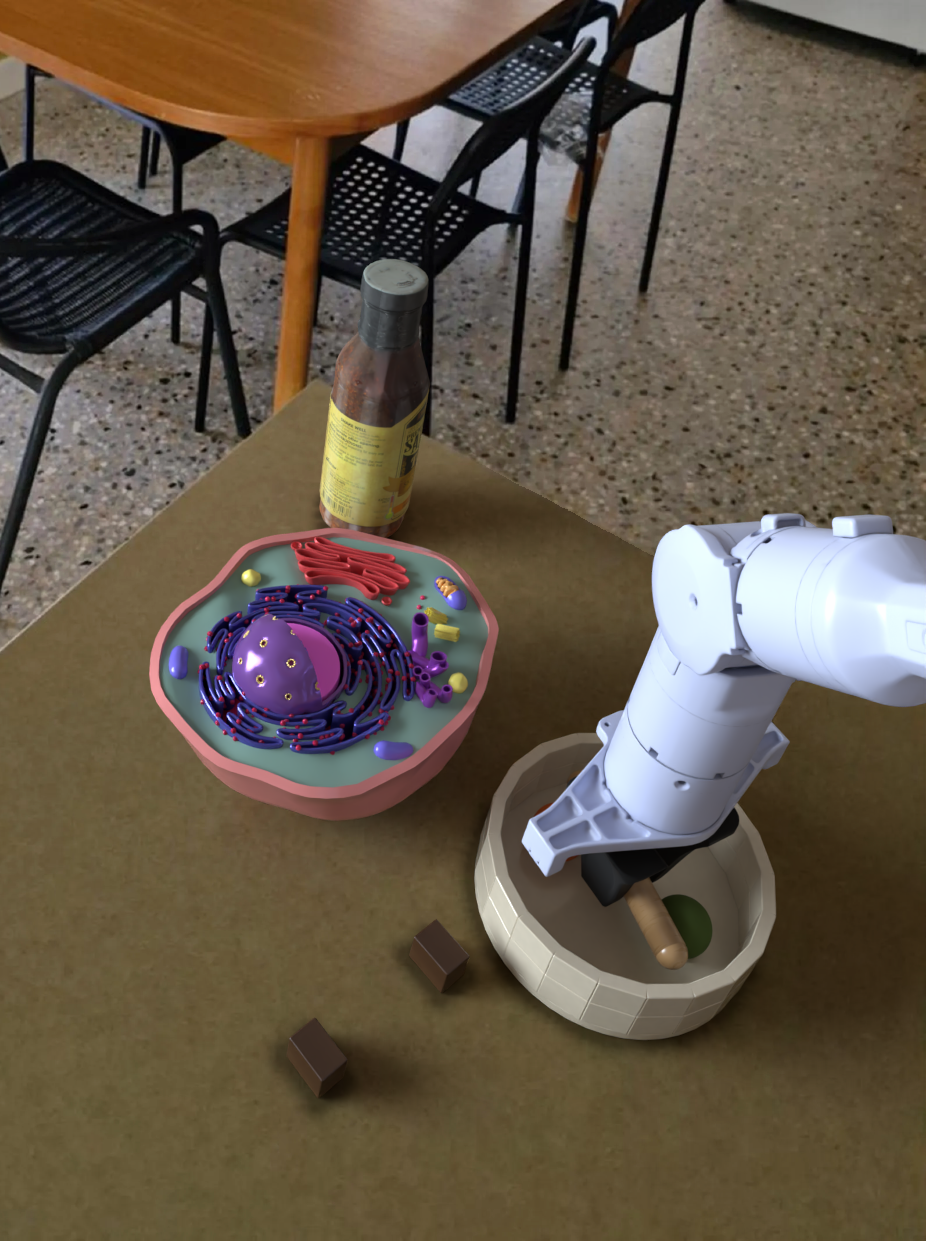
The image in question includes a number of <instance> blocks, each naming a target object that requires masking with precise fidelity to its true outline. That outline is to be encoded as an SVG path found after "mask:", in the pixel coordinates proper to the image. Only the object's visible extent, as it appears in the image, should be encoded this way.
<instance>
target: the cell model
mask: <svg viewBox="0 0 926 1241" xmlns="http://www.w3.org/2000/svg"><path fill="white" fill-rule="evenodd" d="M499 631H500V627H499V624H498V621H497V617H496V616H495V614H494V612H493V611H492V609H491V607H490V606H489V603H488V602H487V601H486V599H485V598H484V596H483V595H482V593H481V591H480V590H479V588H478V587H477V585H476V584H475V583H474V581H473V579H472V578H471V576H470V574H468V572H466V570H464V569H463V568H462V567H461V566H460V565H459V564H458V563H457V562H456V561H454V560H453V559H451V558H449V557H448V556H446V555H445V554H442V553H441V552H437V551H434V550H431V549H429V548H426V547H423V546H419V545H415V544H411V543H407V542H403V541H400V540H395V539H391V538H388V537H387V538H383V537H379V536H375V535H371V534H367V533H363V532H359V531H355V530H350V529H342V528H330V527H324V528H318V529H311V530H305V531H297V532H288V533H279V534H273V535H269V536H264V537H261V538H258V539H255V540H251V541H249V542H247V543H245V544H244V545H243V546H241V547H240V548H239V549H238V550H236V552H235V553H234V554H233V555H232V556H231V557H230V559H229V560H228V561H227V563H226V564H224V566H223V567H222V568H221V570H219V572H218V573H217V574H216V575H215V577H214V578H213V579H212V580H211V581H210V582H209V583H208V584H206V586H204V587H203V588H201V589H199V591H197V592H196V593H194V594H192V595H191V596H190V597H189V598H187V599H185V600H184V601H183V602H181V603H180V604H179V605H178V606H177V607H176V608H175V609H174V610H173V611H172V612H171V613H170V614H169V616H168V617H167V619H166V620H165V621H164V622H163V624H162V625H161V626H160V629H159V630H158V632H157V633H156V636H155V638H154V642H153V644H152V649H151V652H150V658H149V670H148V671H149V672H148V675H149V683H150V690H151V693H152V695H153V697H154V699H155V702H156V704H157V705H158V706H159V708H160V710H161V711H162V713H163V714H164V715H165V716H166V718H167V719H168V720H169V721H170V723H172V724H173V726H174V727H175V728H176V729H177V731H179V733H180V734H181V735H182V737H183V738H184V740H185V742H186V743H187V744H188V745H189V747H190V748H191V749H192V751H193V752H194V754H195V755H196V757H197V758H198V759H199V761H200V762H201V763H202V764H203V765H204V766H205V767H206V769H207V770H208V771H209V772H210V773H211V774H212V775H213V776H214V777H215V778H217V780H219V781H220V782H221V783H223V784H224V785H225V786H226V787H228V788H229V789H231V790H232V791H234V792H236V793H238V794H240V795H242V796H244V797H246V798H248V799H251V800H254V801H257V802H259V803H263V804H265V805H268V806H272V807H276V808H279V809H283V810H287V811H290V812H293V813H297V814H300V815H302V816H306V817H309V818H312V819H317V820H322V821H330V822H341V821H342V822H344V821H353V820H361V819H366V818H370V817H374V816H376V815H379V814H380V813H383V812H385V811H387V810H389V809H392V808H394V807H395V806H397V805H398V804H400V803H401V802H403V801H405V799H407V798H408V797H410V796H412V795H414V794H415V793H416V792H418V791H419V790H421V789H422V788H423V787H424V786H426V785H427V784H428V783H430V782H431V781H432V780H434V778H436V777H437V776H438V774H440V772H442V770H444V768H445V767H447V765H448V764H449V763H450V761H451V760H452V758H453V757H454V755H456V753H457V752H458V750H459V749H460V748H461V746H462V744H463V743H464V741H465V738H466V736H467V735H468V733H469V731H470V729H471V726H472V724H473V721H474V718H475V716H476V713H477V711H478V708H479V706H480V703H481V700H482V699H483V696H484V693H485V691H486V689H487V686H488V681H489V678H490V673H491V670H492V669H491V668H492V664H493V660H494V653H495V650H496V646H497V641H498V635H499Z"/></svg>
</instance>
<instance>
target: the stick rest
mask: <svg viewBox="0 0 926 1241" xmlns="http://www.w3.org/2000/svg"><path fill="white" fill-rule="evenodd" d="M408 956H409V957H410V959H411V960H412V961H413V962H414V964H415V965H416V966H417V967H418V968H419V969H420V971H421V972H422V973H423V974H424V975H425V976H426V978H427V979H428V980H429V981H430V982H431V983H432V985H433V986H434V987H435V988H436V989H437V990H438V992H439V993H440V994H443V993H444V992H446V991H447V990H448V989H449V988H451V986H452V985H454V984H455V983H456V982H457V981H458V980H459V979H461V978H462V977H463V976H464V974H465V971H466V968H467V965H468V963H469V959H470V955H469V953H467V951H466V950H465V949H464V948H463V947H462V946H461V945H460V943H459V942H458V941H457V940H456V938H454V937H453V935H452V934H451V933H450V932H449V931H448V930H447V928H445V927H444V925H443V923H441V922H440V921H439V920H438V919H437V918H436V919H434V920H433V921H431V922H430V923H429V924H428V925H426V927H425V926H424V928H423V929H422V930H421V931H419V932H418V933H417V934H416V935H414V936H413V939H412V943H411V946H410V949H409V954H408ZM287 1043H288V1044H287V1049H286V1054H285V1056H286V1058H287V1059H288V1060H289V1062H290V1063H291V1065H292V1066H293V1068H295V1070H296V1071H297V1073H298V1074H299V1076H300V1077H301V1078H302V1079H303V1081H304V1082H305V1084H306V1085H307V1086H308V1087H309V1089H310V1090H311V1092H312V1093H313V1095H315V1097H316V1098H317V1099H321V1097H323V1096H324V1095H325V1094H326V1093H328V1092H329V1090H331V1089H332V1088H333V1087H334V1086H335V1085H337V1084H338V1083H339V1082H340V1081H341V1080H343V1079H344V1076H345V1072H346V1068H347V1064H348V1061H349V1060H348V1058H347V1056H346V1055H345V1054H344V1053H343V1051H342V1050H341V1048H339V1046H338V1044H336V1042H335V1041H334V1039H333V1038H332V1037H331V1036H330V1034H329V1033H328V1032H327V1030H326V1029H325V1027H323V1025H322V1024H321V1023H320V1021H319V1020H318V1019H317V1018H316V1017H313V1018H312V1019H311V1020H309V1021H308V1022H306V1023H305V1024H304V1025H303V1026H302V1027H301V1028H299V1029H298V1030H297V1031H295V1033H293V1034H291V1035H290V1037H289V1039H288V1042H287Z"/></svg>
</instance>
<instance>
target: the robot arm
mask: <svg viewBox="0 0 926 1241" xmlns="http://www.w3.org/2000/svg"><path fill="white" fill-rule="evenodd" d="M831 526H832V528H828V527H827V528H826V527H818V526H817V525H815V524H814V523H812V522H810V521H809V520H806V518H805V517H804V515H802V514H800V513H793V512H782V513H771V514H770V513H769V514H765V515H762V517H761V520H757V521H743V522H729V523H719V524H717V523H716V524H715V523H714V524H703V525H701V524H700V525H695V524H691V523H690V524H689V523H688V524H684V525H683V526H681V527H680V528H677V529H671V530H669V531H668V532H666V533H665V534H664V535H663V536H662V537H661V539H660V540H659V542H658V544H657V547H656V550H655V553H654V557H653V560H652V569H651V571H652V572H651V592H652V600H653V601H652V602H653V607H654V611H655V612H654V613H655V616H656V620H657V624H658V627H657V629H656V632H655V634H654V636H653V638H652V641H651V643H650V646H649V649H648V651H647V654H646V656H645V658H644V661H643V664H642V666H641V667H640V670H639V673H638V675H637V677H636V680H635V683H634V685H633V687H632V690H631V692H630V695H629V697H628V700H627V701H626V704H625V707H624V709H623V710H618V711H616V712H614V713H612V714H609V715H607V716H604V717H602V718H601V719H600V720H599V721H598V722H597V726H596V729H595V730H596V731H595V733H597V735H598V737H599V738H600V739H601V740H602V742H603V744H604V746H603V747H602V749H601V750H600V751H599V752H598V753H597V754H596V756H595V757H594V758H593V759H592V760H591V761H590V763H589V764H588V765H587V766H586V767H585V768H584V769H583V771H582V772H581V773H580V774H579V775H578V776H575V777H574V778H572V779H570V781H569V782H568V784H567V786H566V789H565V791H564V793H563V794H562V795H561V796H560V797H559V798H558V799H557V800H556V801H555V802H554V803H553V804H552V805H551V806H550V807H549V808H548V809H547V810H545V811H544V812H542V813H541V814H539V815H537V816H535V817H533V818H531V819H530V820H529V822H528V825H527V828H526V830H525V833H524V836H523V839H522V843H523V845H524V846H525V848H526V849H527V850H528V852H529V854H530V855H531V857H532V858H533V860H534V861H535V862H536V864H537V865H538V866H539V868H540V869H541V871H542V872H543V874H544V875H545V876H546V877H548V876H550V875H552V874H554V873H557V872H559V871H560V870H561V869H562V868H563V866H564V863H565V861H566V859H567V858H568V857H571V856H576V855H581V877H582V878H583V879H584V881H585V882H586V884H587V885H588V886H589V888H590V889H591V891H592V892H593V893H594V895H595V896H596V898H597V899H598V900H599V902H600V903H601V905H602V906H604V907H607V906H609V905H611V904H613V903H615V902H616V901H618V900H620V899H621V898H622V897H624V895H625V894H626V893H627V892H628V891H629V889H630V888H631V887H632V886H633V884H634V883H636V882H639V881H642V880H644V879H646V878H648V877H649V878H650V880H651V882H652V883H653V882H655V881H657V880H659V879H660V878H662V877H663V876H664V875H665V874H666V873H668V872H669V871H670V870H671V869H672V868H673V867H674V866H675V865H677V864H678V863H679V862H680V861H681V860H682V859H684V858H685V857H686V856H687V855H688V854H690V853H691V852H692V851H694V850H695V849H698V848H703V847H709V846H711V845H713V844H715V843H717V842H719V841H721V840H723V839H725V838H726V837H728V836H730V835H732V834H734V833H735V831H736V829H737V827H738V825H739V815H738V812H737V810H736V809H735V807H734V806H735V805H736V804H737V803H739V801H740V800H741V798H742V797H743V796H744V794H745V793H746V791H747V790H748V788H749V787H750V786H751V785H752V783H753V782H754V780H755V779H756V777H758V775H759V774H760V772H761V771H762V770H767V769H770V768H772V767H774V766H776V765H778V764H779V762H780V761H781V759H782V757H783V755H784V753H785V752H786V750H787V748H788V746H789V744H790V742H791V741H790V740H789V739H788V738H787V737H786V736H785V734H784V733H783V732H782V731H781V730H780V729H779V728H778V727H777V725H776V724H775V723H773V719H774V718H775V716H776V714H777V712H778V710H779V709H780V708H779V707H780V706H781V704H782V703H783V701H784V699H785V697H786V695H787V694H788V692H789V691H790V690H789V689H791V686H792V684H793V683H796V682H801V681H803V682H806V683H810V684H814V685H815V686H819V687H823V688H827V689H829V690H833V691H836V692H839V693H843V694H846V695H850V696H854V697H857V698H861V699H862V700H863V699H864V700H867V701H870V702H874V703H877V704H880V705H884V706H888V707H889V706H890V707H894V708H895V707H896V708H898V707H899V708H908V707H916V706H921V705H925V704H926V540H925V539H924V538H920V537H917V536H911V535H906V534H895V533H894V528H893V520H892V517H890V516H889V515H884V514H857V515H856V514H855V515H843V516H835V517H833V519H832V520H831Z"/></svg>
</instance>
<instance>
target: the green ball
mask: <svg viewBox="0 0 926 1241" xmlns="http://www.w3.org/2000/svg"><path fill="white" fill-rule="evenodd" d="M661 900H662V902H663V904H664V906H665V907H666V909H667V911H668V913H669V915H670V917H671V918H672V920H673V922H674V924H675V926H676V928H677V929H678V931H679V933H680V935H681V937H682V939H683V940H684V942H685V944H686V946H687V949H688V959H691V958H695V957H697V956H699V955H701V954H702V953H703V952H704V951H705V950H706V949H707V948H708V946H709V944H710V942H711V939H712V932H713V929H712V922H711V919H710V917H709V914H708V913H707V911H706V909H705V908H704V907H703V906H702V905H701V904H700V903H699V902H698V901H696V900H695V899H693V898H691V897H689V896H686V895H681V894H674V895H669V896H667V897H665V898H663V899H661Z"/></svg>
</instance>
